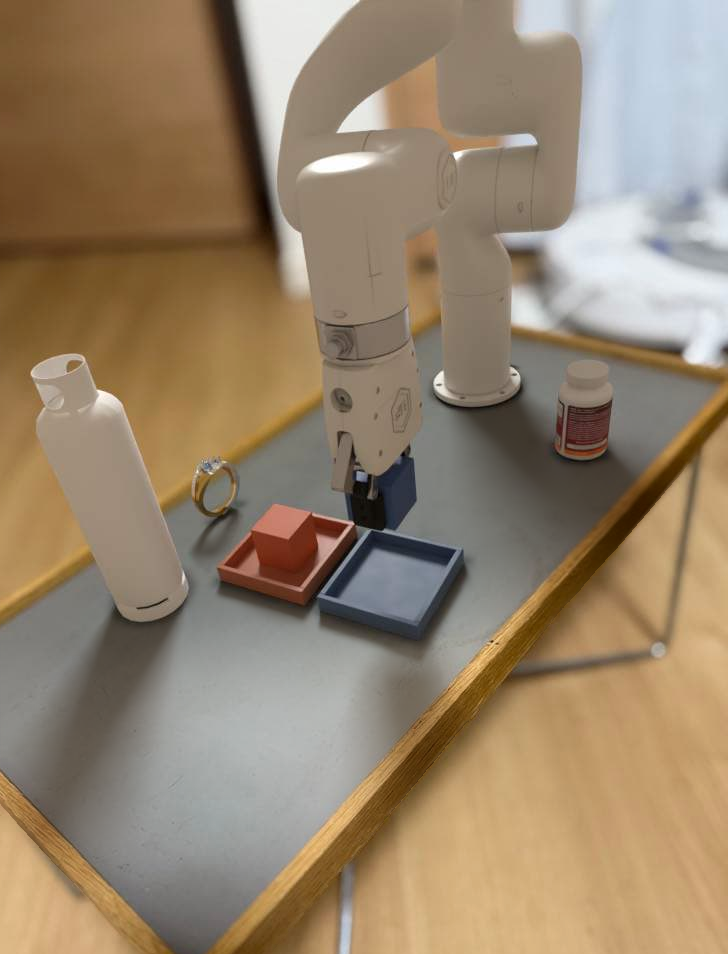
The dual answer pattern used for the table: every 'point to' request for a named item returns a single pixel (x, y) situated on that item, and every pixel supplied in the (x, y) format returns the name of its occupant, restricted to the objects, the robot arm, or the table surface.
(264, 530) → the terracotta block
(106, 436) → the bottle
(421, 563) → the blue tray
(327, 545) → the terracotta tray
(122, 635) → the table surface
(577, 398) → the pill bottle
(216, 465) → the ring
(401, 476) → the blue block
